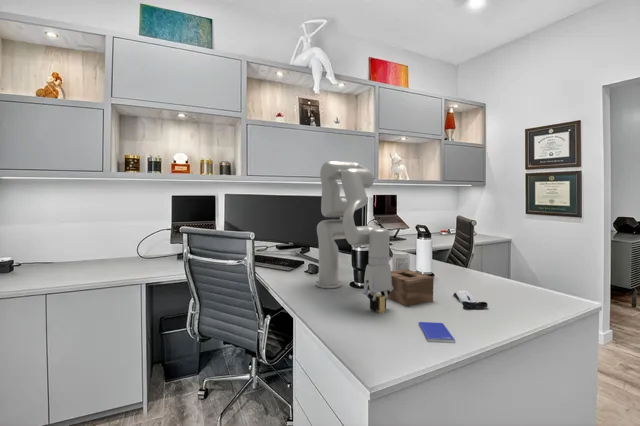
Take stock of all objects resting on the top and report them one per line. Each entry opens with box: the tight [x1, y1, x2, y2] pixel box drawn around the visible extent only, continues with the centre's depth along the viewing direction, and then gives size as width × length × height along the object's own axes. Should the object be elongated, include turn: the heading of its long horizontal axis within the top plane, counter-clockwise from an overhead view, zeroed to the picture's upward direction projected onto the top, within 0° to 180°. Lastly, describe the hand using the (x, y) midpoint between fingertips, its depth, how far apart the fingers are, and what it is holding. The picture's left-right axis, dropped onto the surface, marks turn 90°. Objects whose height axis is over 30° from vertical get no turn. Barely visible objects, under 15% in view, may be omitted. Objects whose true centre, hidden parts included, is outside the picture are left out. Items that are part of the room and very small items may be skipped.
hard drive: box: [417, 321, 456, 344], centre depth 101 cm, size 2×8×12 cm
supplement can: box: [391, 251, 411, 271], centre depth 158 cm, size 8×8×15 cm
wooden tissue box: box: [387, 269, 435, 307], centre depth 134 cm, size 16×14×10 cm
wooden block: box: [372, 292, 386, 314], centre depth 120 cm, size 5×2×6 cm, turn 28°
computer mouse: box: [452, 289, 488, 310], centre depth 130 cm, size 10×18×4 cm, turn 0°
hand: (378, 308), depth 120 cm, fingers open, 3 cm apart
